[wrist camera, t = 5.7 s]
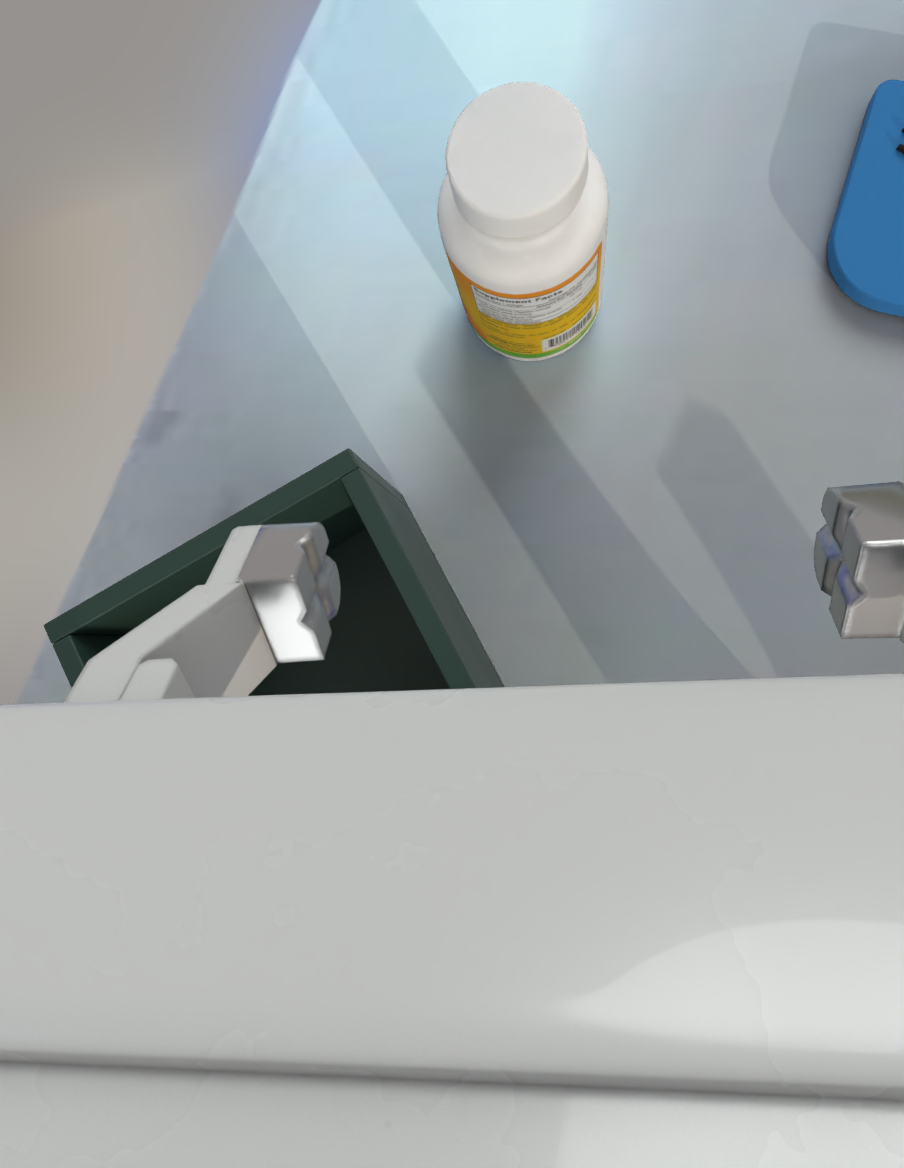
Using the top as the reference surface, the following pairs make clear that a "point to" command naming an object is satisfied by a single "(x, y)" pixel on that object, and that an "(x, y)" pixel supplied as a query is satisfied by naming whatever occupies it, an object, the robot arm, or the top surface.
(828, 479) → the top surface
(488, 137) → the supplement bottle
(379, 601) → the bin
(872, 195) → the handheld gaming device
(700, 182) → the top surface
